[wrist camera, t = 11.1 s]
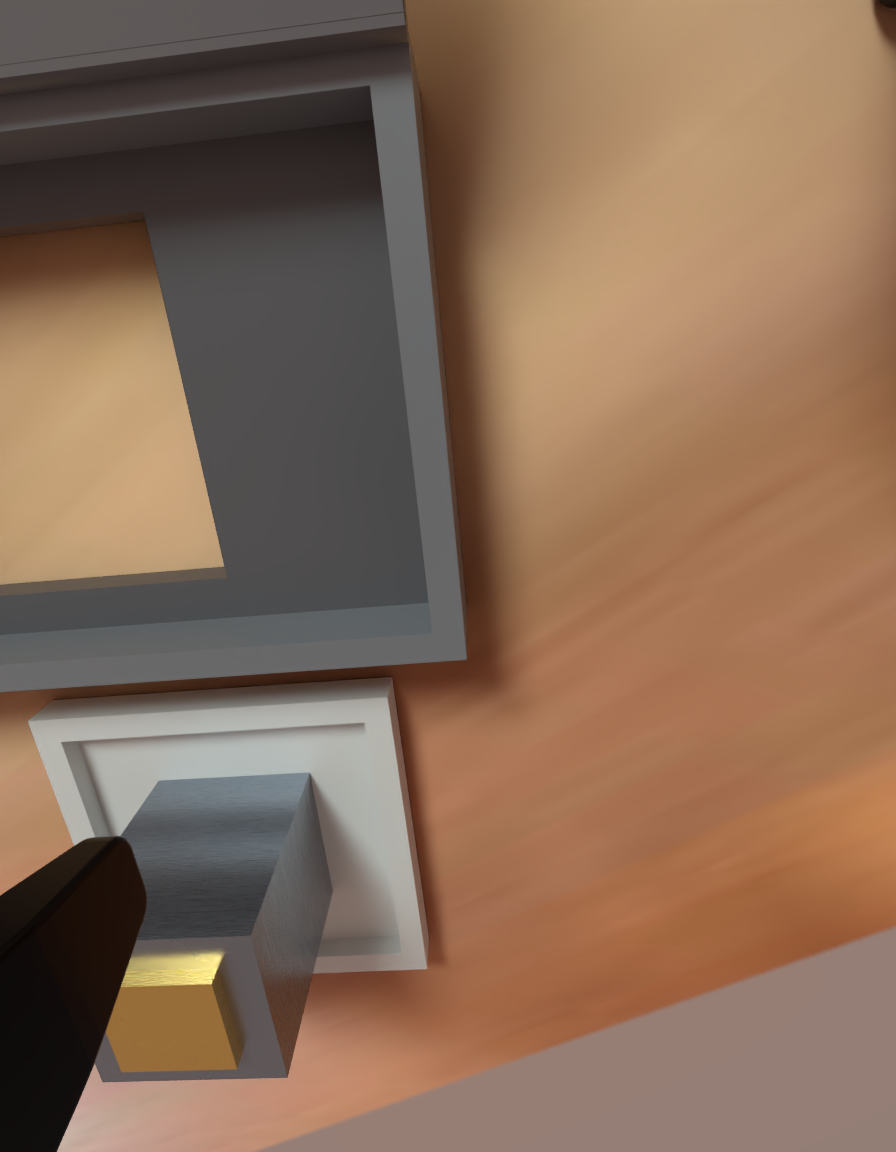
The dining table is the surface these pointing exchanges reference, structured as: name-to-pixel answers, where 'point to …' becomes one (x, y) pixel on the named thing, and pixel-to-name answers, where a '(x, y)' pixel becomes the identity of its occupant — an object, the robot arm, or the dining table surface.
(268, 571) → the case
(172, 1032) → the module
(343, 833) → the tray
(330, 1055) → the dining table surface
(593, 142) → the dining table surface
